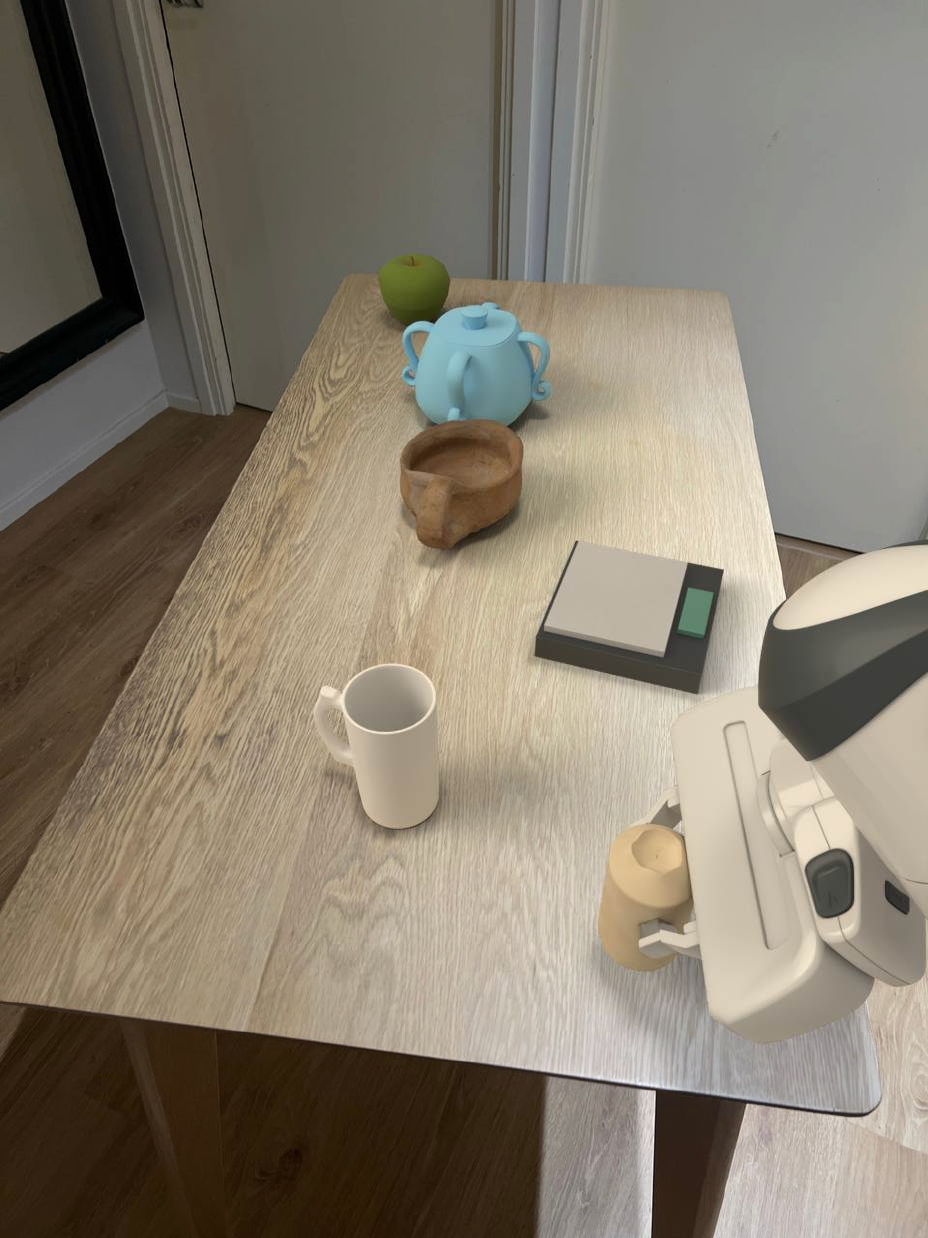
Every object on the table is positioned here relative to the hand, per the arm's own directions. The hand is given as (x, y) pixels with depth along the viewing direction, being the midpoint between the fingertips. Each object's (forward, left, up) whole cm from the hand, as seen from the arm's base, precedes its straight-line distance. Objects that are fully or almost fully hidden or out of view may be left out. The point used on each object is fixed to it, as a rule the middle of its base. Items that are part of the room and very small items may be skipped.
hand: (639, 890), depth 55 cm
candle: (-1, 0, -6) cm, 6 cm away
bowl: (+27, -44, -10) cm, 53 cm away
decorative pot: (+33, -67, -10) cm, 75 cm away
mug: (+21, -8, -10) cm, 25 cm away
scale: (+6, -34, -9) cm, 36 cm away
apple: (+50, -89, -10) cm, 103 cm away
